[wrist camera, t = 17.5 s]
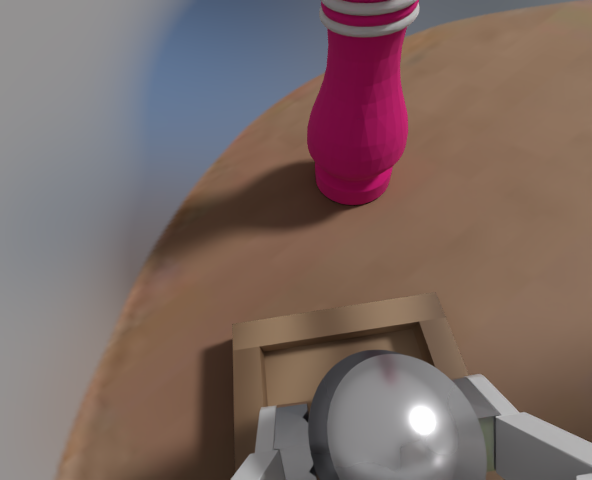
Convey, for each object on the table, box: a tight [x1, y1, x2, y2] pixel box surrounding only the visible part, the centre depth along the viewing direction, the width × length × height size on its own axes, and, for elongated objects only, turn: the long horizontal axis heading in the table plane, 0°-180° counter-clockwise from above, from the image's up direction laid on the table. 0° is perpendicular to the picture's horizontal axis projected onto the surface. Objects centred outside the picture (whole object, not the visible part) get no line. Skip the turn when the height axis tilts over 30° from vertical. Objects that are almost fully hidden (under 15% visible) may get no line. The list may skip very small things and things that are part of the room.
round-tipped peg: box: [308, 350, 487, 480], centre depth 10 cm, size 4×4×10 cm
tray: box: [232, 292, 505, 480], centre depth 15 cm, size 12×12×2 cm
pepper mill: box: [307, 0, 419, 205], centre depth 17 cm, size 7×7×20 cm
